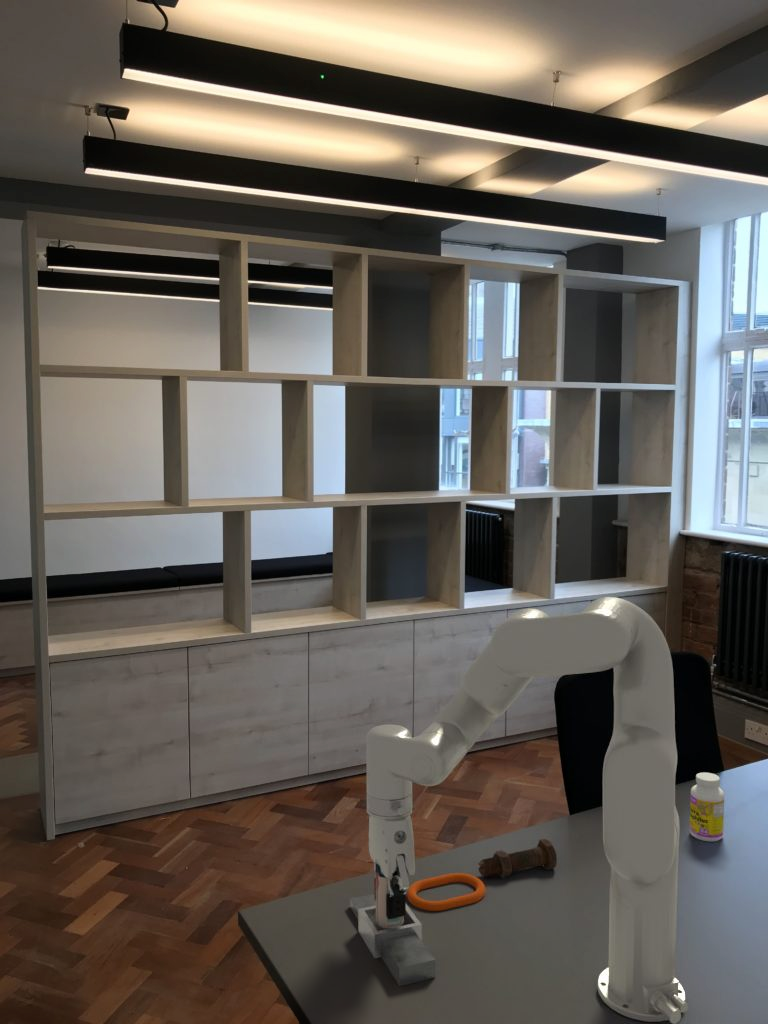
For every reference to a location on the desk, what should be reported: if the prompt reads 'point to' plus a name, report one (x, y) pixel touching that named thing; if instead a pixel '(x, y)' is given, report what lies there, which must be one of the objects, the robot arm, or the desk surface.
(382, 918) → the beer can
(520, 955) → the desk surface
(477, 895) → the metal ring
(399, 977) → the bar with square collar
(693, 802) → the supplement bottle
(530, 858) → the bolt
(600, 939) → the desk surface
